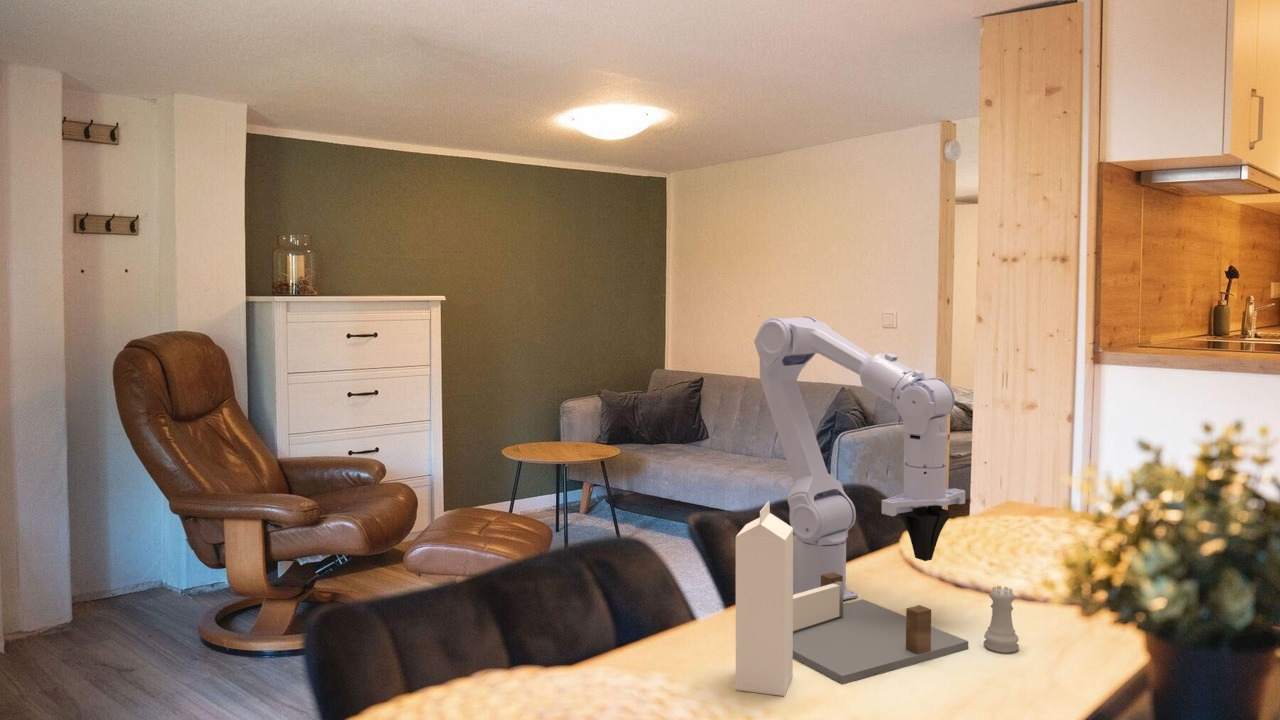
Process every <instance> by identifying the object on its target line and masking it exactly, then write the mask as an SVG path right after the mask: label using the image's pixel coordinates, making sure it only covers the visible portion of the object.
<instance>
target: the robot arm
mask: <svg viewBox="0 0 1280 720" xmlns="http://www.w3.org/2000/svg"><path fill="white" fill-rule="evenodd" d="M753 343H754V346H755V350H756V352H757V355H758V357H759V380H760V384H761V386H762V390H763V393H764V396H765V398H766V402H767V404H768V408H769V411H770V413H771V414H770V415H771V418H772V420H773V422H774V426H775V430H776V432H777V435H778V439H779V441H780V444H781V448H782V449H783V454H784V457H785V459H786V462H787V465H788V469H789V472H790V474H791V475H790V476H791V478H792V480H793V486H792V487H791V489H790V491H789V493H788V495H787V497H786V500H787V501H786V502H787V503H788V507H789V515H788V516H789V517H788V518H789V524H790V525H789V526H791V527H792V528H793V595H794V594H798V593H801V592H805V591H808V590H812V589H815V588H819V587H821V575H823V574H827V573H832V572H834V573H837V574H839V575H842V576H843V601H844V600H849V599H855V598H858V597H859V594H858V593H857V592H855V591H851V590H849V589H847V588H846V587H847V584H846V583H847V538H849V530H850V529H851V528H852V527H853V526H854V525H855V523H856V519H857V514H856V513H857V512H856V507H855V504H854V503H853V501H852V500H851V498H850V497H849V496H848V495H847V494H846V493H845V491H844V490H845V489H844V487H843V484H842V482H840V480H838V479H836V478H835V477H834V476H832V475H831V474H830V473H829V472H828V469H827V465H826V463H825V461H824V458H823V454H822V452H821V448H820V446H819V441H818V440H817V437H816V435H815V430H814V428H813V425H812V422H811V419H810V417H809V416H810V415H809V413H808V410H807V408H806V405H805V404H806V403H805V402H804V399H803V395H802V392H801V390H800V386H799V384H798V378H799V376H800V374H801V372H802V371H803V369H804V368H805V367H806V366H807V364H808V363H809V362H810V361H811V360H812V359H813V358H814V356H815V355H817V354H818V355H821V356H823V357H824V358H827V359H828V360H830V361H832V362H834V363H836V364H838V365H840V366H841V367H844V368H846V369H848V370H850V371H851V372H853V373H855V374H857V375H859V379H860V383H861V384H860V385H862V387H863V388H864V389H866V390H868V391H870V392H871V393H873V394H874V395H876V396H878V397H880V398H882V399H883V400H884V401H886V402H888V403H890V404H891V405H892V406H895V407H896V410H897V412H898V414H899V415H900V417H901V418H902V422H903V423H902V426H903V427H902V429H903V431H904V433H903V435H904V437H903V441H904V442H903V444H904V445H903V492H901V493H899V494H896V495H894V496H892V497H889V498H886V499H881V514H882V515H887V516H890V517H895V516H897V515H898V516H899V517H900V519H901V520H902V522H903V523H904V526H905V528H906V531H907V533H908V537H909V539H910V542H911V546H912V551H913V555H914V558H915V559H917V560H921V561H923V562H927V561H931V560H933V557H934V554H935V549H936V546H937V544H938V540H939V537H940V535H941V532H942V530H943V528H944V527H945V525H946V523H947V521H948V520H949V519H950V513H951V512H950V510H949V509H945V508H943V507H944V506H950V505H956V504H957V505H964V504H966V490H964V489H958V488H955V487H954V488H947V487H946V484H947V483H946V482H947V481H946V480H947V479H946V478H947V475H946V474H947V473H946V472H947V429H948V428H947V427H948V425H947V423H948V421H947V419H948V417H947V416H949V414H950V413H952V411H953V409H954V408H955V403H956V402H955V401H956V397H955V392H954V390H953V388H952V387H951V386H950V385H949V384H948V383H947V382H946V381H944V379H942V378H941V377H929V378H926V377H925V376H924V374H925V373H924V372H923V371H922V370H920V369H916V370H914V369H912V368H911V367H908V366H907V365H905V364H903V363H901V362H900V361H898V357H899V356H897V355H896V354H894V353H892V352H890V353H883V352H880V353H876V354H874V355H871V354H870V353H868V352H867V351H865V350H864V349H862V348H861V347H859V346H858V345H856V344H855V343H853V342H851V341H850V340H848V339H846V338H845V337H844V336H842V335H841V334H839V333H838V332H837V331H835V330H833V329H831V328H830V327H829V325H828V324H827V323H825V322H824V321H823V322H822V321H819V320H818V319H816V317H812V316H809V315H807V316H805V315H804V316H802V317H785V318H783V317H782V318H781V317H780V318H779V317H770V318H767V319H766V320H765V321H764V322H763V323H761V325H760V328H759V329H758V332H757V334H756V336H755V338H754V340H753Z"/></svg>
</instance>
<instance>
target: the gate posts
mask: <svg viewBox="0 0 1280 720" xmlns="http://www.w3.org/2000/svg"><path fill="white" fill-rule="evenodd" d="M836 581H841V582H843V576H842V575H839V574H837V573H834V572H832V573H827V574H823V575H821V587H822V586H826V585H829V584H835V582H836ZM905 611H906V612H905V613H906V615H905V616H906V650H908V651H910V652H913V653H915V654H921V653H925V652H928V651H931V627H932V609H931V608H928V607H926V606H924V605H920V604H918V605H915V606H910V607H907V608H906V610H905Z"/></svg>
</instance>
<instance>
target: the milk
mask: <svg viewBox="0 0 1280 720" xmlns="http://www.w3.org/2000/svg"><path fill="white" fill-rule="evenodd" d="M770 502H771V501H769V500H768V501H767V502H766V503H765V504H764V506H763V507H762V509H760V510H759V517H758V518H756V519H754V520H752V521H750V522H748V523H746V524H745V525H744V526H743V528H741V530H740V531H739V532H738V533H737V535H736V536H735V690H736V691H741V692H749V693H757V694H765V695H774V696H779V697H780V696H782V697H785V696H786V693H787V692H788V689H789V686H790V683H791V681H792V679H793V675H794V674H793V672H794V671H793V665H794V664H793V662H794V660H793V659H794V658H793V595H794V594H793V536H794V532H793V528H792V527H791V525H789V524H788V523H786V522H785V521H783V520H782V519H780V518H779V517H777V516H775V515H774V514H773V513H771V512H770V510H771V508H770V506H771V504H770Z"/></svg>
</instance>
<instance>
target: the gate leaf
mask: <svg viewBox="0 0 1280 720" xmlns="http://www.w3.org/2000/svg"><path fill="white" fill-rule="evenodd" d="M843 604H844V600H843V582H841V581H836V582H835V584H829V585H826V586H822V587H819V588H815V589H812V590H808V591H805V592H801V593H798V594H793V631H795V630H798V629H801V628H804V627H808V626H811V625H814V624H817V623H820V622H823V621H826V620H830V619H833V618H836V617H842V616H843Z"/></svg>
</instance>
